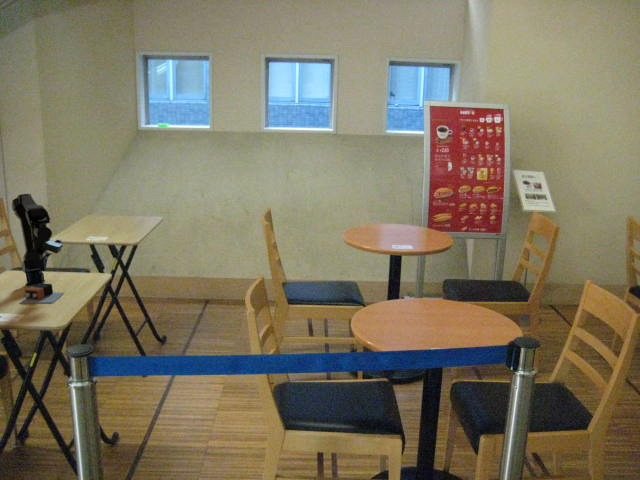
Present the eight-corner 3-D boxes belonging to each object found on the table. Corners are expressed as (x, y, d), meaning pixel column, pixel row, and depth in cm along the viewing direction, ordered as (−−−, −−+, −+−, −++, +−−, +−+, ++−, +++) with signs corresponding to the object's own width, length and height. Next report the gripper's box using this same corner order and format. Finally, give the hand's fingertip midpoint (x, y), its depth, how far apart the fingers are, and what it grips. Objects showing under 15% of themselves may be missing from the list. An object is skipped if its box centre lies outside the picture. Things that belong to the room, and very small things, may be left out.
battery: (39, 282, 256) (22, 290, 247) (52, 283, 254) (36, 291, 245) (40, 291, 257) (24, 299, 248) (53, 293, 256) (37, 301, 246)
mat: (19, 303, 244) (19, 302, 244) (32, 293, 256) (32, 293, 256) (53, 303, 245) (52, 302, 245) (64, 293, 256) (64, 292, 256)
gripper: (49, 241, 239) (53, 277, 243) (66, 230, 257) (70, 264, 261) (21, 241, 239) (26, 277, 243) (41, 231, 257) (45, 264, 261)
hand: (43, 270), depth 252 cm, fingers closed
